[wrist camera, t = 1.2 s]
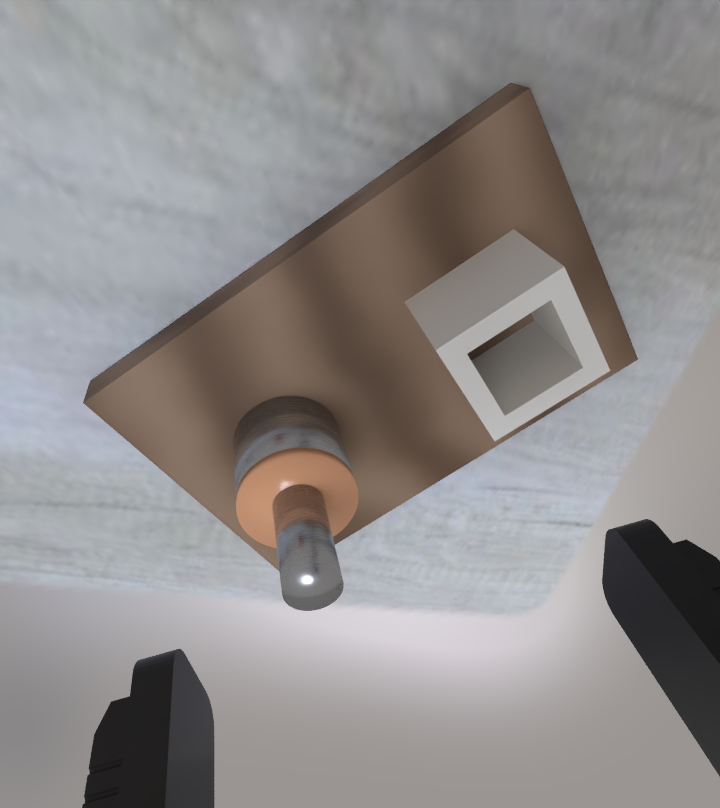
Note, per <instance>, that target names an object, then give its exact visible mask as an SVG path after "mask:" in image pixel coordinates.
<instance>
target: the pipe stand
mask: <svg viewBox="0 0 720 808" xmlns="http://www.w3.org/2000/svg"><path fill="white" fill-rule="evenodd" d="M513 229H514V230H516V231H517V232H518V233H520V234H521V235H522V236H524V237H525V238H526V239H528V240H529V241H530V242H532V243H533V244H535V245H536V246H537V247H539V248H540V249H541V250H543V251H544V252H545V253H547V254H548V255H549V256H551V257H552V258H553V259H555V260H556V261H558V262H559V263H560V264H562V265H563V266H564V267H565V269H566V271H567V274H568V276H569V278H570V280H571V283H572V285H573V287H574V289H575V292H576V294H577V296H578V299H579V301H580V303H581V305H582V308H583V310H584V312H585V314H586V317H587V319H588V321H589V324H590V326H591V328H592V330H593V333H594V335H595V337H596V339H597V342H598V344H599V346H600V348H601V351H602V353H603V355H604V358H605V360H606V362H607V364H608V367H609V369H610V371H609V372H607V373H606V374H604V375H602V376H601V377H599V378H598V379H596V380H594V381H593V382H591V383H589V384H588V385H586V386H585V387H583V388H581V389H580V390H578V391H576V392H575V393H573V394H571V395H570V396H568V397H567V398H565V399H563V400H562V401H560V402H558V403H557V404H555V405H554V406H552V407H550V408H549V409H547V410H545V411H544V412H542V413H541V414H539V415H537V416H536V417H534V418H532V419H531V420H529V421H527V422H526V423H524V424H523V425H521V426H519V427H518V428H516V429H514V430H513V431H511V432H510V433H508V434H506V435H505V436H503V437H501V438H500V439H498V440H496V441H494V440H493V438H492V437H491V435H490V433H489V432H488V430H487V429H486V427H485V426H484V424H483V423H482V421H481V420H480V418H479V416H478V415H477V413H476V412H475V410H474V409H473V407H472V406H471V404H470V403H469V401H468V400H467V398H466V396H465V395H464V393H463V392H462V390H461V389H460V387H459V386H458V384H457V383H456V381H455V379H454V378H453V376H452V375H451V373H450V372H449V370H448V369H447V367H446V366H445V364H444V362H443V361H442V359H441V358H440V356H439V355H438V353H437V352H436V350H435V349H434V347H433V346H432V344H431V342H430V341H429V339H428V338H427V336H426V335H425V333H424V332H423V330H422V329H421V327H420V325H419V324H418V322H417V321H416V319H415V318H414V316H413V315H412V313H411V312H410V310H409V308H408V307H407V305H406V304H405V301H407V300H408V299H410V298H411V297H413V296H414V295H416V294H417V293H419V292H420V291H422V290H423V289H425V288H426V287H428V286H429V285H431V284H432V283H434V282H435V281H437V280H438V279H440V278H441V277H443V276H444V275H446V274H447V273H449V272H450V271H452V270H453V269H455V268H456V267H458V266H459V265H461V264H462V263H464V262H465V261H467V260H468V259H470V258H471V257H473V256H474V255H476V254H477V253H479V252H480V251H482V250H483V249H485V248H486V247H488V246H489V245H491V244H492V243H494V242H495V241H497V240H498V239H500V238H501V237H503V236H504V235H506V234H507V233H509V232H510V231H512V230H513ZM533 321H534V318H533V316H532V314H531V313H530V314H528V315H527V316H525V317H524V318H522V319H520V320H519V321H517V322H516V323H514V324H513V325H511V326H510V327H508V328H506V329H505V330H503V331H502V332H500V333H499V334H497V335H496V336H494V337H492V338H491V339H489V340H488V341H486V342H485V343H483V344H482V345H480V346H478V347H477V348H475V349H474V350H472V351H471V352H469V353H468V354H467V355H468V356H469V358H470V360H471V361H472V360H473V359H475V358H476V357H478V356H480V355H481V354H483V353H484V352H486V351H487V350H489V349H490V348H492V347H494V346H495V345H497V344H498V343H500V342H501V341H503V340H505V339H506V338H508V337H509V336H511V335H512V334H514V333H515V332H517V331H519V330H520V329H522V328H523V327H525V326H526V325H528V324H530V323H531V322H533ZM636 360H638V358H637V355H636V353H635V350H634V348H633V345H632V343H631V340H630V338H629V335H628V333H627V330H626V328H625V325H624V323H623V320H622V318H621V315H620V313H619V310H618V308H617V305H616V303H615V300H614V298H613V295H612V293H611V290H610V288H609V285H608V283H607V280H606V278H605V275H604V273H603V270H602V268H601V265H600V263H599V260H598V258H597V255H596V253H595V250H594V248H593V245H592V243H591V240H590V237H589V235H588V232H587V230H586V227H585V225H584V222H583V220H582V217H581V215H580V212H579V210H578V207H577V205H576V202H575V200H574V197H573V195H572V192H571V190H570V187H569V185H568V182H567V180H566V177H565V175H564V172H563V170H562V167H561V165H560V162H559V160H558V157H557V155H556V152H555V150H554V147H553V145H552V142H551V140H550V137H549V135H548V132H547V130H546V127H545V125H544V122H543V120H542V117H541V115H540V112H539V110H538V107H537V105H536V102H535V100H534V97H533V95H532V92H531V90H530V88H528V87H524V86H520V85H516V84H512V83H510V84H509V85H507V86H506V87H504V88H503V89H502V90H500V91H499V92H497V93H496V94H494V95H493V96H492V97H490V98H489V99H487V100H486V101H485V102H483V103H482V104H480V105H479V106H478V107H476V108H475V109H473V110H472V111H471V112H469V113H468V114H466V115H465V116H463V117H462V118H461V119H459V120H458V121H456V122H455V123H454V124H452V125H451V126H449V127H448V128H447V129H445V130H444V131H442V132H441V133H440V134H438V135H437V136H435V137H434V138H432V139H431V140H430V141H428V142H427V143H425V144H424V145H423V146H421V147H420V148H418V149H417V150H416V151H414V152H413V153H411V154H410V155H408V156H407V157H406V158H404V159H403V160H401V161H400V162H399V163H397V164H396V165H394V166H393V167H392V168H390V169H389V170H387V171H386V172H385V173H383V174H382V175H380V176H379V177H377V178H376V179H375V180H373V181H372V182H370V183H369V184H368V185H366V186H365V187H363V188H362V189H361V190H359V191H358V192H356V193H355V194H354V195H352V196H351V197H349V198H348V199H346V200H345V201H344V202H342V203H341V204H339V205H338V206H337V207H335V208H334V209H332V210H331V211H330V212H328V213H327V214H325V215H324V216H323V217H321V218H320V219H318V220H317V221H315V222H314V223H313V224H311V225H310V226H308V227H307V228H306V229H304V230H303V231H301V232H300V233H299V234H297V235H296V236H294V237H293V238H292V239H290V240H289V241H287V242H286V243H284V244H283V245H282V246H280V247H279V248H277V249H276V250H275V251H273V252H272V253H270V254H269V255H268V256H266V257H265V258H263V259H262V260H260V261H259V262H258V263H256V264H255V265H253V266H252V267H251V268H249V269H248V270H246V271H245V272H244V273H242V274H241V275H239V276H238V277H237V278H235V279H234V280H232V281H231V282H229V283H228V284H227V285H225V286H224V287H222V288H221V289H220V290H218V291H217V292H215V293H214V294H213V295H211V296H210V297H208V298H207V299H206V300H204V301H203V302H201V303H200V304H198V305H197V306H196V307H194V308H193V309H191V310H190V311H189V312H187V313H186V314H184V315H183V316H182V317H180V318H179V319H177V320H176V321H175V322H173V323H172V324H170V325H169V326H167V327H166V328H165V329H163V330H162V331H160V332H159V333H158V334H156V335H155V336H153V337H152V338H151V339H149V340H148V341H146V342H145V343H143V344H142V345H141V346H139V347H138V348H136V349H135V350H134V351H132V352H131V353H129V354H128V355H127V356H125V357H124V358H122V359H121V360H120V361H118V362H117V363H115V364H114V365H112V366H111V367H110V368H108V369H107V370H105V371H104V372H103V373H101V374H100V375H98V376H97V377H96V378H94V379H93V380H91V381H90V383H89V386H88V389H87V393H86V396H85V399H84V402H83V403H84V404H85V405H86V406H88V407H89V408H90V409H91V410H92V411H93V412H95V413H96V414H97V415H98V416H99V417H100V418H102V419H103V420H104V421H105V422H106V423H107V424H109V425H110V426H111V427H112V428H113V429H114V430H116V431H117V432H118V433H119V434H120V435H121V436H123V437H124V438H125V439H126V440H127V441H128V442H130V443H131V444H132V445H133V446H134V447H135V448H137V449H138V450H139V451H140V452H141V453H142V454H144V455H145V456H146V457H147V458H148V459H149V460H151V461H152V462H153V463H154V464H155V465H156V466H158V467H159V468H160V469H161V470H162V471H163V472H165V473H166V474H167V475H168V476H169V477H170V478H171V479H173V480H174V481H175V482H176V483H177V484H178V485H180V486H181V487H182V488H183V489H184V490H185V491H187V492H188V493H189V494H190V495H191V496H192V497H194V498H195V499H196V500H197V501H198V502H199V503H201V504H202V505H203V506H204V507H205V508H206V509H208V510H209V511H210V512H211V513H212V514H213V515H215V516H216V517H217V518H218V519H219V520H220V521H222V522H223V523H224V524H225V525H226V526H227V527H229V528H230V529H231V530H232V531H233V532H234V533H236V534H237V535H238V536H239V537H240V538H241V539H243V540H244V541H245V542H246V543H247V544H248V545H250V546H251V547H252V548H253V549H254V550H255V551H257V552H258V553H259V554H260V555H261V556H262V557H264V558H265V559H266V560H267V561H268V562H269V563H270V564H272V565H273V566H274V567H275V568H276V569H277V570H279V571H280V579H281V587H282V595H283V599H284V601H285V602H286V603H287V604H288V605H289V606H291V607H293V608H295V609H298V610H304V611H311V610H317V609H321V608H324V607H326V606H328V605H330V604H332V603H333V602H334V601H335V600H337V599H338V597H339V596H340V595H341V593H342V590H343V580H342V575H341V571H340V566H339V562H338V558H337V553H336V549H335V544H337V543H338V542H340V541H342V540H343V539H345V538H347V537H348V536H350V535H352V534H353V533H355V532H356V531H358V530H360V529H361V528H363V527H365V526H366V525H368V524H370V523H371V522H373V521H374V520H376V519H378V518H379V517H381V516H383V515H384V514H386V513H387V512H389V511H391V510H392V509H394V508H396V507H397V506H399V505H401V504H402V503H404V502H405V501H407V500H409V499H410V498H412V497H414V496H415V495H417V494H419V493H420V492H422V491H423V490H425V489H427V488H428V487H430V486H432V485H433V484H435V483H437V482H438V481H440V480H441V479H443V478H445V477H446V476H448V475H450V474H451V473H453V472H454V471H456V470H458V469H459V468H461V467H463V466H464V465H466V464H468V463H469V462H471V461H472V460H474V459H476V458H477V457H479V456H481V455H482V454H484V453H486V452H487V451H489V450H490V449H492V448H494V447H495V446H497V445H499V444H500V443H502V442H504V441H505V440H507V439H508V438H510V437H512V436H513V435H515V434H517V433H518V432H520V431H521V430H523V429H525V428H526V427H528V426H530V425H531V424H533V423H535V422H536V421H538V420H539V419H541V418H543V417H544V416H546V415H548V414H549V413H551V412H553V411H554V410H556V409H557V408H559V407H561V406H562V405H564V404H566V403H567V402H569V401H571V400H572V399H574V398H575V397H577V396H579V395H580V394H582V393H584V392H585V391H587V390H588V389H590V388H592V387H593V386H595V385H597V384H598V383H600V382H602V381H603V380H605V379H606V378H608V377H610V376H611V375H613V374H615V373H616V372H618V371H620V370H621V369H623V368H624V367H626V366H628V365H629V364H631V363H633V362H634V361H636Z"/></svg>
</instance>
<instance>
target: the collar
mask: <svg viewBox="0 0 720 808" xmlns="http://www.w3.org/2000/svg"><path fill="white" fill-rule="evenodd" d="M405 304H406V305H407V307H408V308H409V310H410V312H411V313H412V315H413V316H414V318H415V319H416V321H417V322H418V324H419V325H420V327H421V329H422V330H423V332H424V333H425V335H426V336H427V338H428V339H429V341H430V342H431V344H432V346H433V347H434V349H435V350H436V352H437V353H438V355H439V356H440V358H441V359H442V361H443V362H444V364H445V366H446V367H447V369H448V370H449V372H450V373H451V375H452V376H453V378H454V379H455V381H456V383H457V384H458V386H459V387H460V389H461V390H462V392H463V393H464V395H465V396H466V398H467V400H468V401H469V403H470V404H471V406H472V407H473V409H474V410H475V412H476V413H477V415H478V416H479V418H480V420H481V421H482V423H483V424H484V426H485V427H486V429H487V430H488V432H489V433H490V435H491V437H492V438H493V440H494V441H496V440H498V439H500V438H501V437H503V436H505V435H506V434H508V433H510V432H511V431H513V430H514V429H516V428H518V427H519V426H521V425H523V424H524V423H526V422H527V421H529V420H531V419H532V418H534V417H536V416H537V415H539V414H541V413H542V412H544V411H545V410H547V409H549V408H550V407H552V406H554V405H555V404H557V403H558V402H560V401H562V400H563V399H565V398H567V397H568V396H570V395H571V394H573V393H575V392H576V391H578V390H580V389H581V388H583V387H585V386H586V385H588V384H589V383H591V382H593V381H594V380H596V379H598V378H599V377H601V376H602V375H604V374H606V373H607V372H609V371H610V369H609V367H608V364H607V362H606V360H605V358H604V355H603V353H602V351H601V348H600V346H599V344H598V342H597V339H596V337H595V335H594V333H593V330H592V328H591V326H590V324H589V321H588V319H587V317H586V314H585V312H584V310H583V308H582V305H581V303H580V301H579V299H578V296H577V294H576V292H575V289H574V287H573V285H572V283H571V280H570V278H569V276H568V274H567V271H566V269H565V267H564V266H563V265H562V264H560V263H559V262H558V261H556V260H555V259H553V258H552V257H551V256H549V255H548V254H547V253H545V252H544V251H543V250H541V249H540V248H539V247H537V246H536V245H535V244H533V243H532V242H530V241H529V240H528V239H526V238H525V237H524V236H522V235H521V234H520V233H518V232H517V231H516V230H514V229H513V230H512V231H510V232H509V233H507V234H506V235H504V236H503V237H501V238H500V239H498V240H497V241H495V242H494V243H492V244H491V245H489V246H488V247H486V248H485V249H483V250H482V251H480V252H479V253H477V254H476V255H474V256H473V257H471V258H470V259H468V260H467V261H465V262H464V263H462V264H461V265H459V266H458V267H456V268H455V269H453V270H452V271H450V272H449V273H447V274H446V275H444V276H443V277H441V278H440V279H438V280H437V281H435V282H434V283H432V284H431V285H429V286H428V287H426V288H425V289H423V290H422V291H420V292H419V293H417V294H416V295H414V296H413V297H411V298H410V299H408V300H407V301H405ZM530 313H531V314H532V316H533V318H534V321H533V322H531V323H530V324H528V325H526V326H525V327H523V328H522V329H520V330H519V331H517V332H515V333H514V334H512V335H511V336H509V337H508V338H506V339H505V340H503V341H501V342H500V343H498V344H497V345H495V346H494V347H492V348H490V349H489V350H487V351H486V352H484V353H483V354H481V355H480V356H478V357H476V358H475V359H473V360H472V361H471V360H470V358H469V356H468V355H467V354H468V353H469V352H471V351H472V350H474V349H475V348H477V347H478V346H480V345H482V344H483V343H485V342H486V341H488V340H489V339H491V338H492V337H494V336H496V335H497V334H499V333H500V332H502V331H503V330H505V329H506V328H508V327H510V326H511V325H513V324H514V323H516V322H517V321H519V320H520V319H522V318H524V317H525V316H527V315H528V314H530Z"/></svg>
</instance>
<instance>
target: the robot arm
mask: <svg viewBox="0 0 720 808" xmlns="http://www.w3.org/2000/svg"><path fill="white" fill-rule="evenodd" d="M602 584H603V590H604V594H605V597H606V600H607V603H608V605H609V607H610V609H611V611H612V613H613V614H614V616H615V618H616V619H617V621H618V622H619V624H620V625H621V627H622V628H623V630H624V631H625V633H626V635H627V636H628V638H629V639H630V641H631V642H632V644H633V645H634V647H635V648H636V650H637V651H638V653H639V654H640V656H641V657H642V659H643V660H644V662H645V663H646V665H647V666H648V668H649V669H650V671H651V673H652V674H653V675H654V677H655V679H656V680H657V682H658V683H659V685H660V686H661V688H662V689H663V691H664V692H665V694H666V695H667V697H668V698H669V700H670V701H671V703H672V704H673V706H674V707H675V709H676V711H677V712H678V713H679V715H680V717H681V718H682V720H683V721H684V723H685V724H686V725H687V727H688V729H689V730H690V732H691V733H692V735H693V736H694V738H695V739H696V741H697V742H698V744H699V745H700V747H701V749H702V750H703V751H704V753H705V755H706V756H707V758H708V759H709V760H710V762H711V764H712V765H713V767H714V768H715V770H716V771H717V773H718V774H719V776H720V561H719V560H718V559H717V558H716V557H715V556H713V555H711V554H710V553H708V552H706V551H705V550H703V549H701V548H700V547H698V546H696V545H695V544H693V543H692V542H690V541H688V540H684V541H680V542H676V543H672V542H671V541H670V540H669V538H668V537H667V536H666V535H665V534H664V533H663V531H662V530H661V529H660V528H659V527H658V526H657V525H656V524H655V523H654V522H653V521H651V520H648V519H645V520H642V521H638V522H635V523H631V524H627V525H624V526H620V527H617V528H613V529H610V530H608V531H607V533H606V539H605V552H604V565H603V578H602ZM89 770H90V774H89V775H88V777H87V783H86V790H85V795H84V797H85V804H83V807H82V808H214V721H213V714H212V708H211V704H210V700H209V698H208V695H207V693H206V691H205V689H204V687H203V685H202V684H201V682H200V680H199V678H198V677H197V675H196V673H195V671H194V670H193V668H192V666H191V664H190V662H189V661H188V659H187V657H186V655H185V654H184V652H183V651H182V650H181V649H177V650H173V651H170V652H166V653H163V654H159V655H156V656H152V657H148V658H145V659H141V660H139V661H137V662H136V664H135V666H134V669H133V676H132V685H131V693H130V697H126V698H123V699H119V700H116V701H112V702H111V703H110V705H109V707H108V709H107V711H106V713H105V715H104V717H103V719H102V721H101V723H100V725H99V726H98V729H97V730H96V733H95V735H94V740H93V746H92V752H91V758H90V764H89Z"/></svg>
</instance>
